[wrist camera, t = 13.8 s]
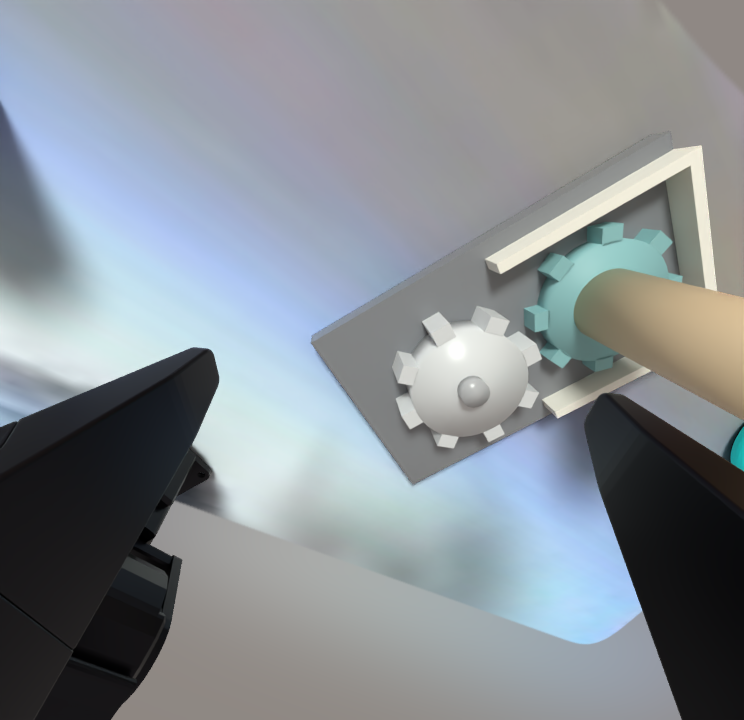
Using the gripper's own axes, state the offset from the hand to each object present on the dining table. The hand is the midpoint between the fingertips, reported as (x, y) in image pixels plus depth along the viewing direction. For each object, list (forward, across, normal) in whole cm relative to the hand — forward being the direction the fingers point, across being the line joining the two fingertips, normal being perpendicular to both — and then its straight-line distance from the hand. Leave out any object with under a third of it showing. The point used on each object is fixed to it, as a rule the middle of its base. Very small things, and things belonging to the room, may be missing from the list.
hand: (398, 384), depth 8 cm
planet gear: (+14, -11, +3) cm, 18 cm away
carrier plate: (+14, -7, +6) cm, 17 cm away
